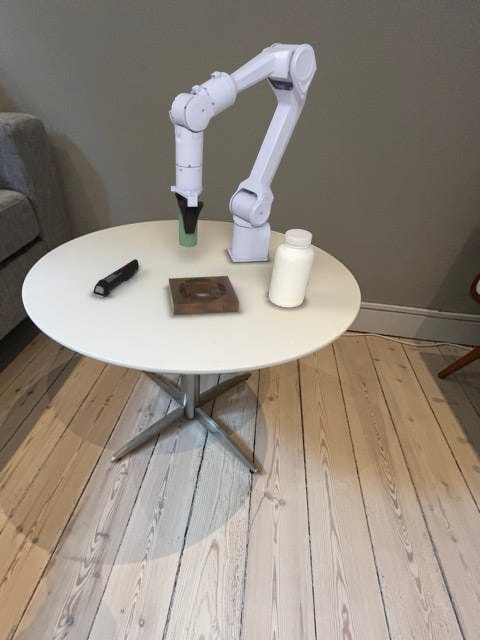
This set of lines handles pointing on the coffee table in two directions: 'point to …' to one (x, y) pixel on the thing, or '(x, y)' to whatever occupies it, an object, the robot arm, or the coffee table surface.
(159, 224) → the coffee table surface
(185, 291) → the brown wooden holder tray
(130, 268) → the electric trimmer
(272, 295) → the pill bottle
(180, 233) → the bottle
